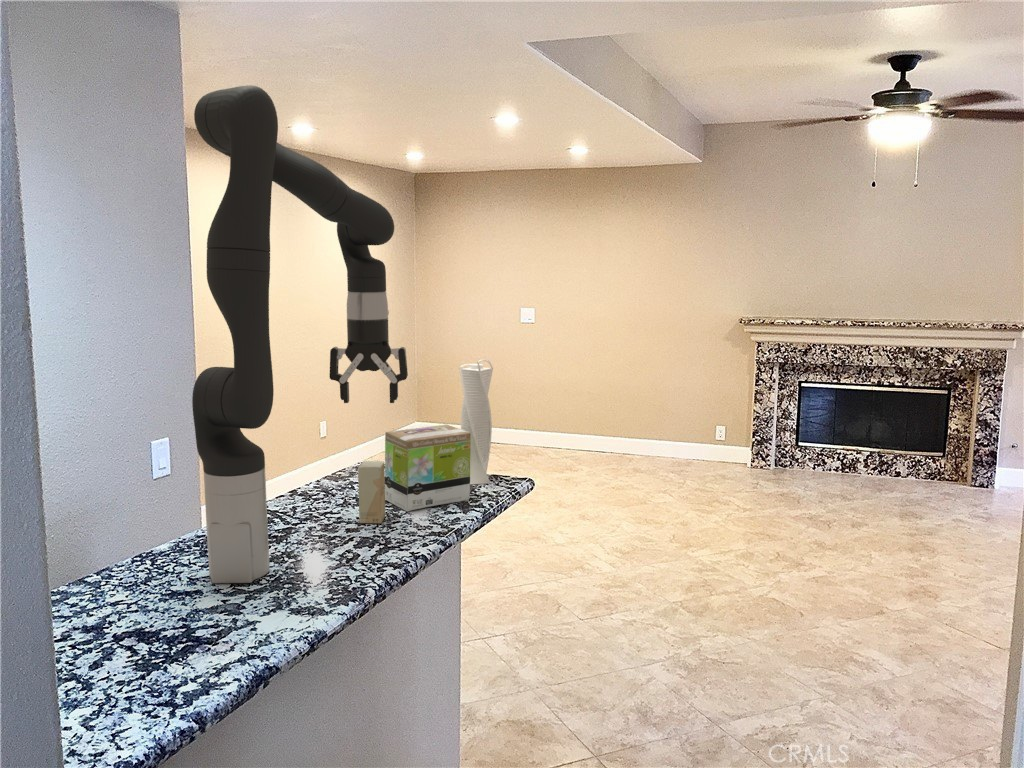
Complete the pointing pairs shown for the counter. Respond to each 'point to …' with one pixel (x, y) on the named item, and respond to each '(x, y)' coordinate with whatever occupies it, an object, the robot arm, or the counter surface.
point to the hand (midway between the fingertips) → (369, 402)
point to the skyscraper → (477, 417)
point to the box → (371, 491)
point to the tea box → (427, 466)
